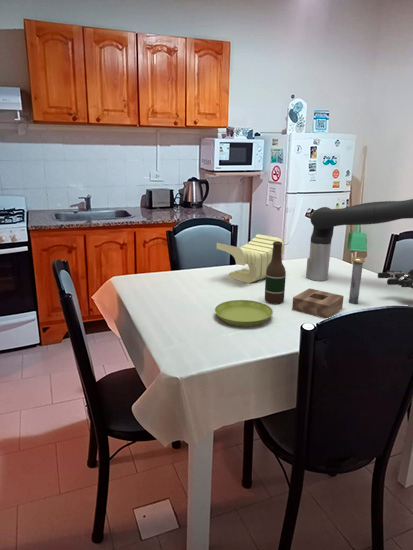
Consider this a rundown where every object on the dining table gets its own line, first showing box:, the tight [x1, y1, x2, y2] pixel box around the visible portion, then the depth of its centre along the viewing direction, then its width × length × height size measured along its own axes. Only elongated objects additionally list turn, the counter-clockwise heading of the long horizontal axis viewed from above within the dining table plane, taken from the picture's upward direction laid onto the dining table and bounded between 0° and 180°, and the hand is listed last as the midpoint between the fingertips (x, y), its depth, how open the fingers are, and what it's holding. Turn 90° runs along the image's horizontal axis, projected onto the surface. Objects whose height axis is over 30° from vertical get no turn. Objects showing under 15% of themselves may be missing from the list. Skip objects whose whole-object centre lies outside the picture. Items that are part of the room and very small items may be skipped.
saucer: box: [214, 299, 274, 327], centre depth 149 cm, size 21×21×3 cm
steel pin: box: [348, 256, 366, 305], centre depth 162 cm, size 5×5×18 cm
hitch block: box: [291, 288, 344, 320], centre depth 157 cm, size 14×14×5 cm
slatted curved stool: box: [216, 233, 285, 284], centre depth 194 cm, size 30×16×18 cm, turn 136°
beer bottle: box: [264, 242, 287, 305], centre depth 162 cm, size 8×8×24 cm
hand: (382, 278), depth 162 cm, fingers open, 8 cm apart
